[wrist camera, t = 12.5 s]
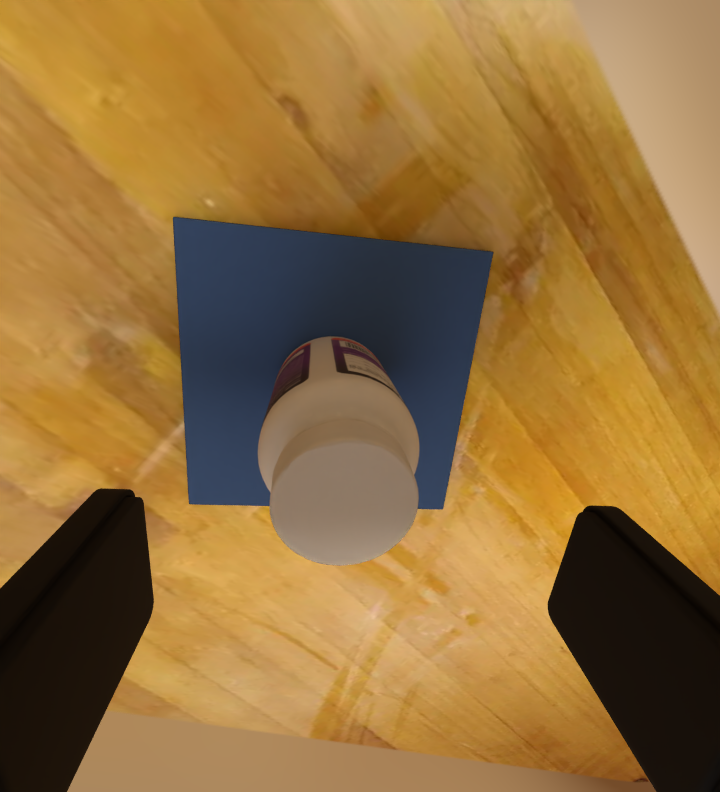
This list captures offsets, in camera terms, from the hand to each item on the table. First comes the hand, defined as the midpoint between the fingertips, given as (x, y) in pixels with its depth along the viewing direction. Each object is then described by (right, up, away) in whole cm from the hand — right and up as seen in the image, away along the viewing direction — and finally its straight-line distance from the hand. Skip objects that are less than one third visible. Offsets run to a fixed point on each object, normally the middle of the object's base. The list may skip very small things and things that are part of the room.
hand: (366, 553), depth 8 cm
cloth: (-2, +4, +11) cm, 12 cm away
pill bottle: (-2, +4, +11) cm, 12 cm away
